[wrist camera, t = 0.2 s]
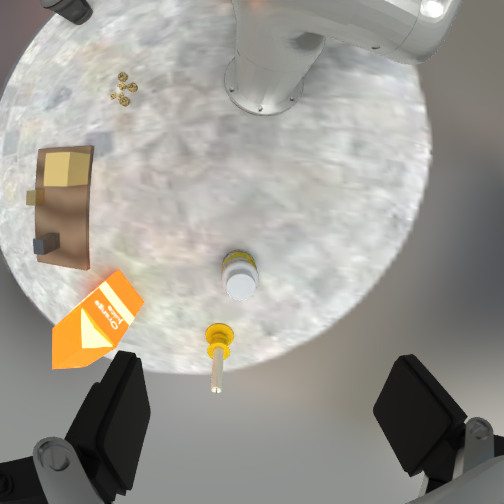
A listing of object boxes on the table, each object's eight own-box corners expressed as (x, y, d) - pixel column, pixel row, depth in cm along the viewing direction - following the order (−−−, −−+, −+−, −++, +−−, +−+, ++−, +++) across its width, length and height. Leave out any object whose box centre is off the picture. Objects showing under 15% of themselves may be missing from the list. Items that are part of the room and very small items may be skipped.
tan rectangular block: (67, 154, 37) (46, 153, 30) (90, 153, 37) (70, 151, 31) (64, 183, 38) (43, 186, 32) (87, 184, 39) (67, 186, 32)
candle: (228, 349, 50) (229, 407, 35) (202, 342, 49) (194, 400, 34) (237, 327, 49) (240, 384, 34) (209, 319, 48) (202, 376, 33)
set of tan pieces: (125, 74, 36) (121, 71, 34) (145, 85, 37) (141, 82, 35) (108, 97, 36) (103, 94, 35) (127, 109, 38) (123, 106, 36)
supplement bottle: (255, 280, 46) (260, 306, 37) (223, 280, 46) (221, 306, 37) (255, 249, 45) (261, 268, 35) (222, 249, 45) (219, 269, 35)
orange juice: (90, 292, 45) (33, 347, 26) (118, 268, 44) (61, 322, 25) (115, 323, 47) (70, 389, 28) (145, 302, 46) (103, 371, 27)
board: (42, 149, 37) (38, 149, 36) (94, 146, 38) (90, 145, 37) (40, 259, 42) (37, 261, 41) (89, 268, 44) (86, 270, 43)
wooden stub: (36, 189, 38) (26, 190, 35) (44, 189, 38) (35, 190, 35) (35, 203, 38) (26, 205, 35) (44, 203, 39) (35, 205, 36)
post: (49, 232, 40) (33, 239, 35) (59, 233, 40) (42, 240, 35) (50, 245, 41) (34, 253, 35) (60, 247, 41) (43, 255, 36)
